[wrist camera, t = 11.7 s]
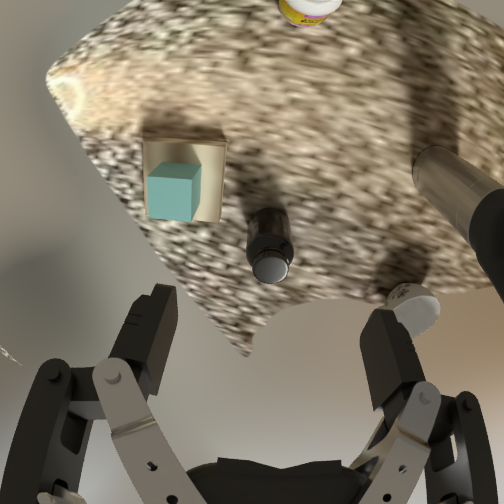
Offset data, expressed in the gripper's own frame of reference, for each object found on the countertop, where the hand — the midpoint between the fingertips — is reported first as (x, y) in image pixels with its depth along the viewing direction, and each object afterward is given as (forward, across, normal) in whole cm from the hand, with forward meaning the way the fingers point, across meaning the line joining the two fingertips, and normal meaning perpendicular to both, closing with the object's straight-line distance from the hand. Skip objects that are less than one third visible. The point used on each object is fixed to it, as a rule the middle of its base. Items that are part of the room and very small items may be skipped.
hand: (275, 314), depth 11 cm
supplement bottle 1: (+34, -2, +15) cm, 37 cm away
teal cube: (+31, +12, +8) cm, 34 cm away
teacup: (+34, -31, +27) cm, 54 cm away
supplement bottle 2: (+34, -2, -20) cm, 40 cm away
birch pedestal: (+34, +12, +8) cm, 37 cm away
